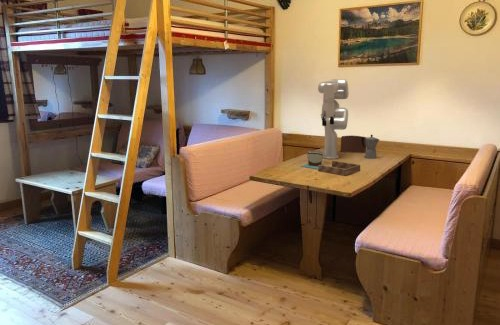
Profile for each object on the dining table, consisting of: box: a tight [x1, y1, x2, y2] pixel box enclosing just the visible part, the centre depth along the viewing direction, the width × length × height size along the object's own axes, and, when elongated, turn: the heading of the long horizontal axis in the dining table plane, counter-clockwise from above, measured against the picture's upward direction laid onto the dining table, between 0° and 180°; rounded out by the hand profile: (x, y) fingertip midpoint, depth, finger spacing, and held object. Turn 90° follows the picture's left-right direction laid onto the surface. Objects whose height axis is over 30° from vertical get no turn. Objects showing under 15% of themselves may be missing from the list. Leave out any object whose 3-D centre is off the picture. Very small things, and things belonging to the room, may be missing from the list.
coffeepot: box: [361, 134, 380, 160], centre depth 315 cm, size 15×9×18 cm, turn 44°
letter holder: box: [340, 135, 367, 154], centre depth 341 cm, size 10×20×14 cm, turn 70°
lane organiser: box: [317, 160, 361, 177], centre depth 275 cm, size 21×18×4 cm
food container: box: [306, 150, 324, 167], centre depth 289 cm, size 12×6×10 cm, turn 61°
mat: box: [300, 163, 327, 170], centre depth 289 cm, size 16×12×1 cm
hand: (328, 125), depth 292 cm, fingers open, 9 cm apart
